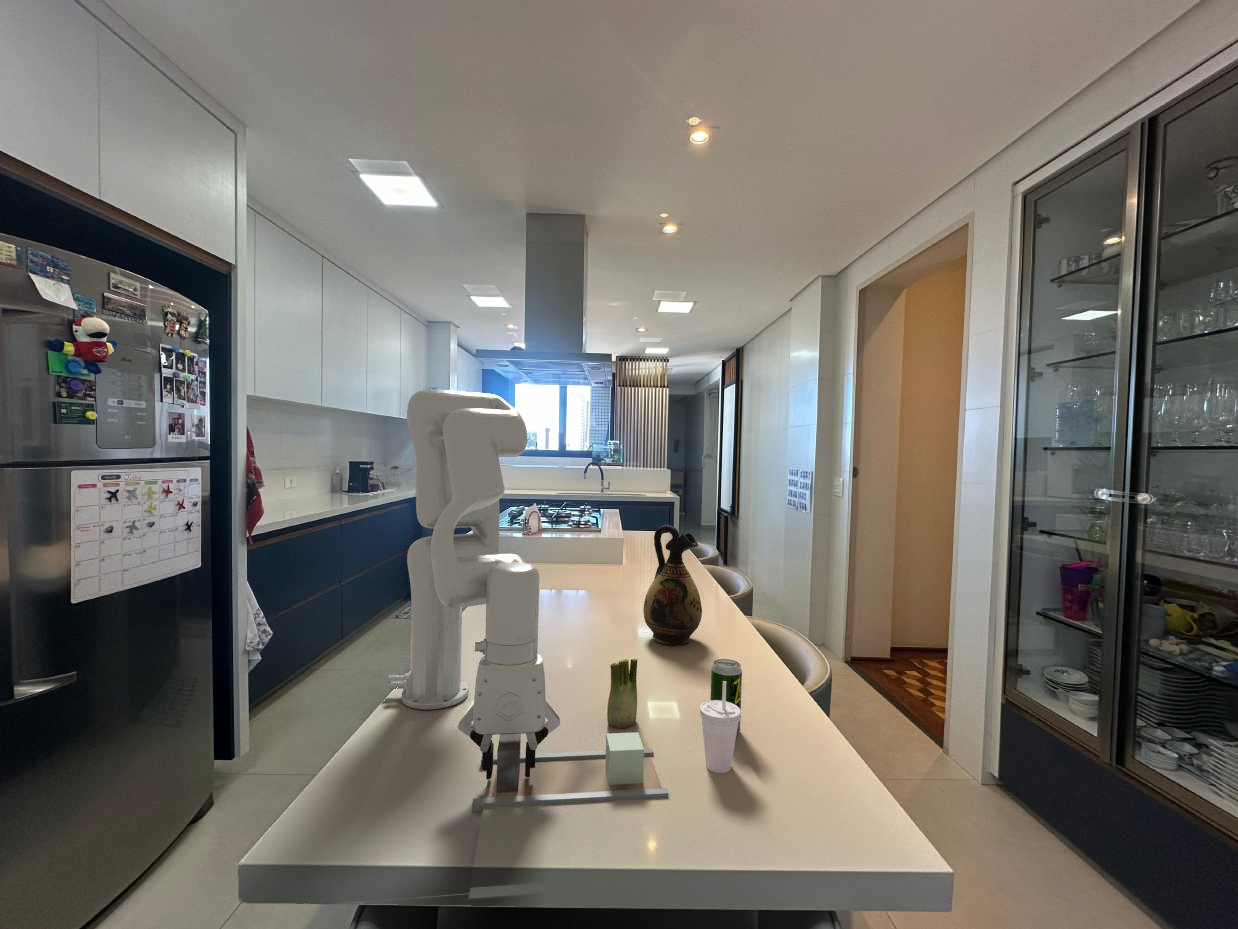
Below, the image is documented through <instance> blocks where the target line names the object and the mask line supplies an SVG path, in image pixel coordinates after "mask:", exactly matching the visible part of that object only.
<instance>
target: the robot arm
mask: <svg viewBox="0 0 1238 929" xmlns="http://www.w3.org/2000/svg"><path fill="white" fill-rule="evenodd" d="M406 423H407V428H408V432H409V436H410V439H411V441H412V445H413V449H414V453H415V460H416V473H415V475H416V478H415V480H416V482H415V483H416V486H415V488H416V489H415V490H416V491H415V496H416V497H415V505H416V506H415V510H416V511H415V512H416V518H417V521H418V523H419V524H420V525H421V526H422V527H424V528H426V529H427V528H428V529H433V532H432V535H431V536H430V535H429V536H425V537H421V538H419V539H417V540H415V541H414V542H413V543H412V544H410V546H409V548H408V551H407V555H406V558H407V559H406V561H407V569H408V577H409V582H410V595H411V596H410V597H411V602H410V603H411V606H410V607H411V612H410V613H411V614H410V615H411V616H410V617H411V620H410V626H411V627H410V666H409V667H410V671H409V672H405V674H400V675H399V674H388V677H387V680H386V682H387V683H386V685H387V686H390V690H400V689H403V690H402V691H401V696H400V697H401V698H400V699H401V702H402V703H403V704H404V706H406V707H409V708H412V709H416V710H425V711H426V710H427V711H428V710H439V709H444V708H449V707H452V706H454V705H457V704H459V703H461V702H462V701H464V700H466V698H467V697H468V695H469V690H470V687H469V684H467V682H465V681H464V680H462V675H461V674H462V646H463V644H462V640H463V638H462V636H463V608H468V607H475V606H483V605H485V635H484V636H485V638H483V640H480V641H475V642H474V652H479V653H482V655H484V656H482V657H481V658H480V660H479V662H478V666H477V672H476V677H475V685H474V695H473V696H474V698H473V704H472V706H470V708H469V709H468V711H467V712H465V714H464V715H463V717H462V718H461V719H460V720H459V722H458V724H457V729H458V730H459V731H460V732H462V733H463V734H465V735H466V736H468V737H469V738H470V740H471V741H473V743H474V744H475V745H476V746H478V748H479V749H480V752H482V753H481V754H482V755H481V757H482V767H481V771H485V772H486V773H485V774H486V777H485V780H491V779H492V776H493V772H494V763H493V755H494V742H493V739H492V738H493V735H495V736H496V735H499V736H500V734H521V735H522V734H523V735H524V734H525V737H526V740H527V741H525V742H526V743H525V754H526V756H525V776H526V777H530V768H535V762H536V761H535V754H536V750H537V749H538V746H539V744H541V743H542V742H543V741H544V740H545V739H546V738H547V737H548V736H549V734H551V733H552V732H553V731H554V730H556V729H557V728H558V727H559V726H560V725H561V718H560V716H559V715H558V713H557V712H556V711H555V710H554V708H552V706H551V705H550V703H549V702H548V701H547V700H546V699H547V698H546V697H547V696H546V676H545V668H544V661H543V658H542V655H540V654H539V653H538V650H539V648H538V647H539V646H538V645H539V644H538V643H539V616H540V613H539V612H540V611H539V609H540V608H539V607H540V606H539V605H540V604H539V603H540V574H539V573H540V572H539V570H538V568H537V567H536V566H535V565H533V564H530V563H528V562H527V563H526V562H525V560H524V559H523V558H522V557H521V556H520V555H519V554H515V553H500V499H502V497H503V496H504V493H505V485H504V484H505V483H504V478H503V473H502V469H501V462H500V458H517V457H519V456H521V455H522V454H523V453H524V452H525V449H527V444H528V431H527V426H526V423H525V421H524V419H523V417H522V415H521V414H520V412H518V410H517V409H516V408H514V407H513V406H512V405H511V404H509V403H508V402H507V401H506V400H504V398H502V397H501V396H498V395H496V394H492V393H486V392H485V393H484V392H475V391H473V392H472V391H463V390H453V389H452V390H451V389H442V388H441V389H440V388H438V389H435V388H433V389H430V388H429V389H424V390H419V391H416V392H415V393H413V394H412V395H411V396H410V398H409V400H408V404H407V410H406ZM458 528H459V529H460V528H471V532H472V533H461V534H455V529H458ZM397 687H398V688H397ZM396 688H397V689H396ZM546 720H547V721H546Z"/></svg>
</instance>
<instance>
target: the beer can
mask: <svg viewBox="0 0 1238 929" xmlns="http://www.w3.org/2000/svg"><path fill="white" fill-rule="evenodd" d="M710 669H711V671H710V700H709V701H711V700H721V701H722V689H723V681H726V701H727V702H730V703H732V704H735V705H736V706H738V707H739V708H740V710H741V711H742V688H743V686H742V681H743V669H742V665H741V663H740V662H739V661H737V660H734V659H728V658H718V659H715V660H713V661H712V666H711V668H710ZM741 720H742V718H741V719H740V721H738V728H737V734H736V736H738V735H739V732H740V731H741Z"/></svg>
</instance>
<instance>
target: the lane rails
mask: <svg viewBox="0 0 1238 929" xmlns="http://www.w3.org/2000/svg"><path fill="white" fill-rule="evenodd" d="M654 754H655V753H654V749H653V748H649V747H648V748H644V757H652V756H654ZM525 756H526V753H523V754H522V753H520V763H522V762H525ZM587 759H606V749H604V750H585V751H582V750H581V751H560V752H559V751H558V752H540V753H539V752H538V753H536V752H535V762H544V761H565V760H587ZM493 764H497V754H493ZM480 768H482V756H480ZM669 795H670V794H669V791H668V788H667V787H662V788H658V789H640V790H621V791H603V792H584V793H566V794H548V795H529V796H511V797H492V796H491V797H478V798H472V801H471V802H472V804H471V813H483V811H484V808H497V807H498V808H499V807H513V806H514V807H515V806H516V807H517V806H531V805H533V806H534V805H535V806H536V805H548V804H566V803H567V804H568V803H587V802H600V801H601V802H602V801H604V802H605V801H618V800H619V801H621V800H637V799H638V800H639V799H640V800H641V799H657V798H669Z"/></svg>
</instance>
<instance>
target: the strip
mask: <svg viewBox="0 0 1238 929" xmlns="http://www.w3.org/2000/svg"><path fill="white" fill-rule="evenodd" d="M521 736H522V734H500V735H499V738H498V744H497V754H496V755H497V763H496V768H495V776H494V784H493V790H492V796H491V798H492V797H511V796H529V795H548V794H566V793H584V792H603V791H621V790H640V789H658V788H663V787H662V785H661V781H660V778H659V776H658V774H657V770H656V767H655V765H654V761H653V758H652V756H644V771H643V783H636V784H617V785H609V781H608V776H607V771H606V766H605V764H606V758H593V759H571V760H549V761H535V768H530V777H526V776H525V762H520V754H521V743H522V742H521V740H522V739H521Z"/></svg>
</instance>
